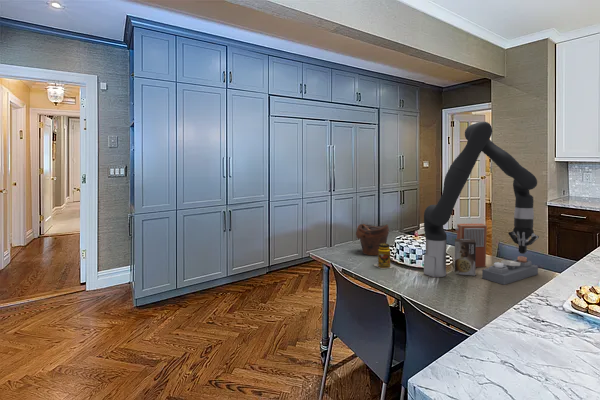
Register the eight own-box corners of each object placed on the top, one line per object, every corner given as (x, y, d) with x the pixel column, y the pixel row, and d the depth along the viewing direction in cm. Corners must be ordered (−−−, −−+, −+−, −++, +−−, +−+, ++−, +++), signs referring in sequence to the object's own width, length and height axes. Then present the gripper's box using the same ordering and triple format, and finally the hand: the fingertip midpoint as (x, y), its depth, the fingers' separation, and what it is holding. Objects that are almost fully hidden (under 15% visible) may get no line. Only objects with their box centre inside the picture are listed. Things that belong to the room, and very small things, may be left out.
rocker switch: (510, 265, 151) (510, 262, 151) (501, 263, 155) (501, 260, 155) (520, 265, 155) (520, 262, 155) (511, 263, 159) (511, 260, 159)
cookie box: (474, 272, 163) (475, 239, 161) (475, 276, 157) (476, 242, 156) (454, 270, 167) (454, 238, 165) (454, 273, 161) (454, 240, 159)
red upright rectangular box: (453, 263, 178) (483, 263, 176) (458, 267, 171) (489, 267, 169) (454, 223, 175) (484, 223, 174) (459, 225, 168) (490, 225, 167)
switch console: (504, 284, 145) (504, 271, 145) (482, 278, 154) (482, 265, 154) (537, 274, 157) (538, 262, 157) (515, 268, 166) (516, 257, 165)
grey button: (500, 269, 149) (500, 264, 148) (492, 267, 152) (492, 262, 152) (505, 268, 150) (505, 263, 150) (497, 266, 153) (497, 261, 153)
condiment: (382, 269, 171) (382, 246, 170) (372, 265, 179) (372, 243, 177) (394, 267, 174) (394, 244, 172) (384, 263, 181) (384, 241, 180)
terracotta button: (523, 263, 157) (523, 258, 157) (515, 261, 160) (516, 257, 160) (528, 262, 159) (528, 257, 158) (520, 260, 162) (520, 255, 161)
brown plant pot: (352, 249, 211) (352, 221, 209) (383, 248, 213) (383, 220, 211) (360, 257, 194) (360, 227, 191) (394, 256, 196) (394, 225, 194)
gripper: (504, 216, 161) (503, 251, 163) (534, 219, 150) (533, 257, 151) (513, 214, 165) (512, 249, 166) (543, 217, 153) (542, 255, 155)
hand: (522, 253), depth 159 cm, fingers closed
